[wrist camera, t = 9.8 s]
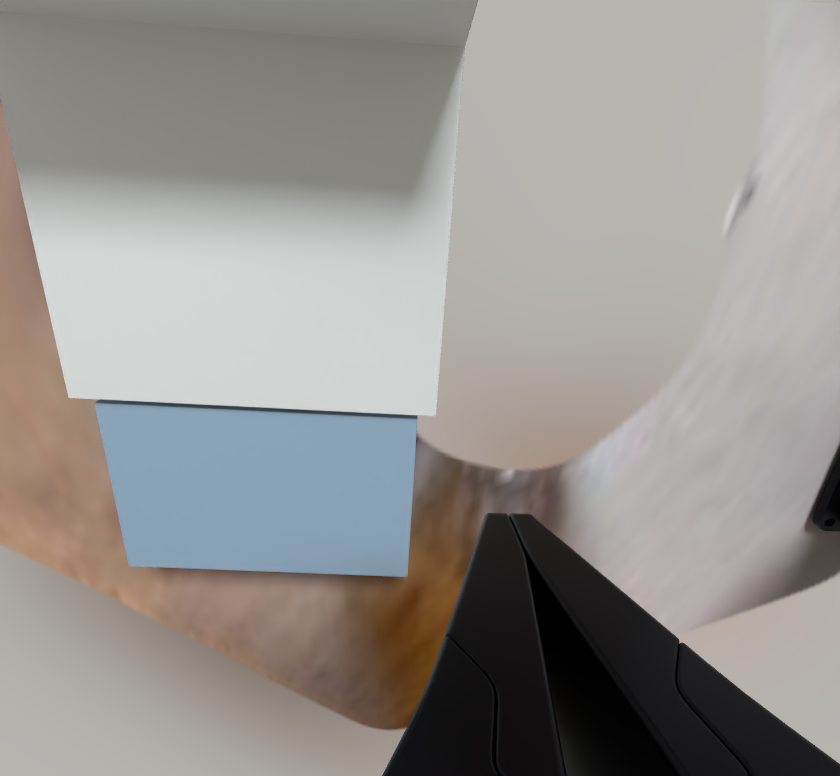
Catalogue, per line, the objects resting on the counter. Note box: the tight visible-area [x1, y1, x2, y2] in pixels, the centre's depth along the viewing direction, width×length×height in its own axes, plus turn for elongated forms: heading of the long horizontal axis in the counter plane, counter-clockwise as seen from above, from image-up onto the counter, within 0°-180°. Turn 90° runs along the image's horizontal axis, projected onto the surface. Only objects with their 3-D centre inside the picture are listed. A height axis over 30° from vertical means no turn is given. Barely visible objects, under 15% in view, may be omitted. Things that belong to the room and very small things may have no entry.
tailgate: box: [95, 399, 417, 577], centre depth 20 cm, size 2×13×8 cm
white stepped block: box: [0, 0, 478, 416], centre depth 14 cm, size 14×14×8 cm
